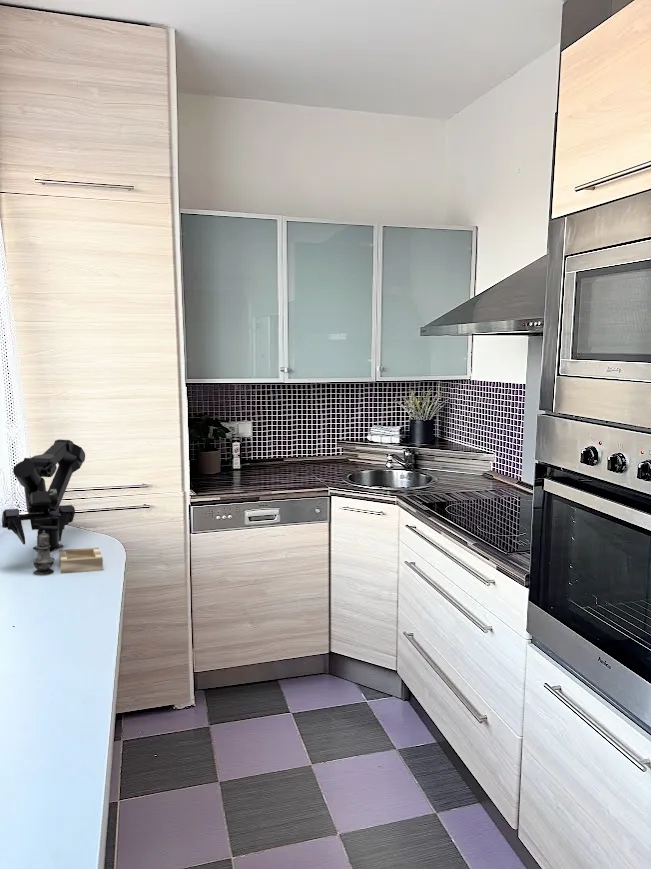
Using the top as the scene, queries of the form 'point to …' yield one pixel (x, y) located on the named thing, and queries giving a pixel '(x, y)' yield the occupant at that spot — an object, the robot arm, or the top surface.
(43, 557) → the weathered stone finial
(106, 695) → the top surface
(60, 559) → the shaker caddy
